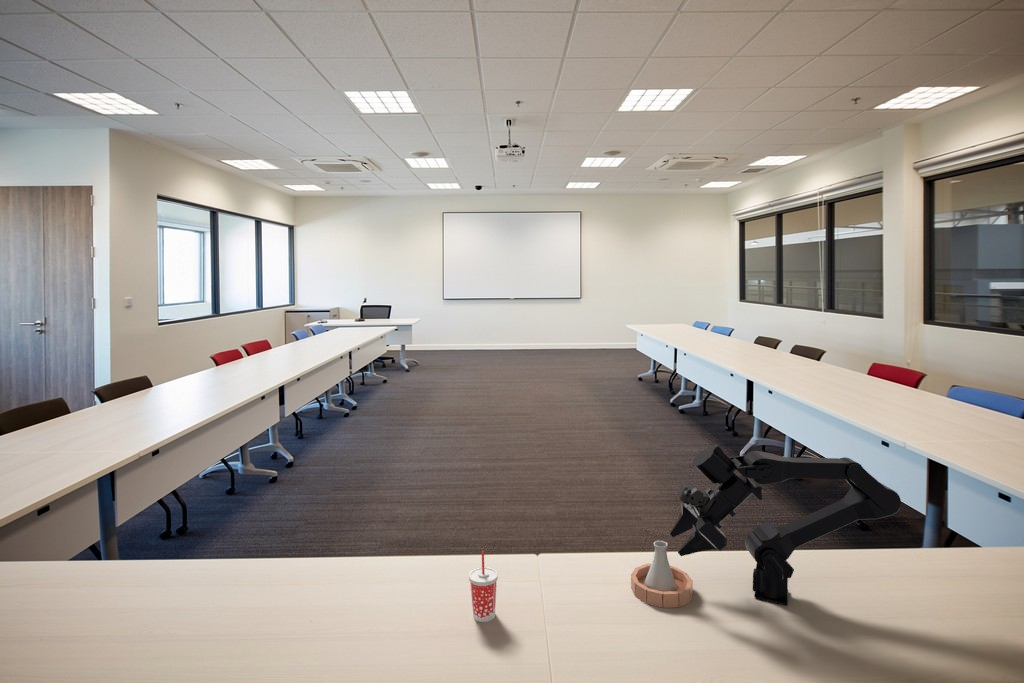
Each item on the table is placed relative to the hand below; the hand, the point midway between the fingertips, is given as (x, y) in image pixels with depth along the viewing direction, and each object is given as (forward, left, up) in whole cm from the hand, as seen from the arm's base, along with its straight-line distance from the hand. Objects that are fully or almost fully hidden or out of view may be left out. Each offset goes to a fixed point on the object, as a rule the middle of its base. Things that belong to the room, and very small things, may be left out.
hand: (675, 544), depth 118 cm
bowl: (+3, +1, -11) cm, 11 cm away
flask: (+3, +1, -10) cm, 11 cm away
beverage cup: (+34, +27, -11) cm, 45 cm away
